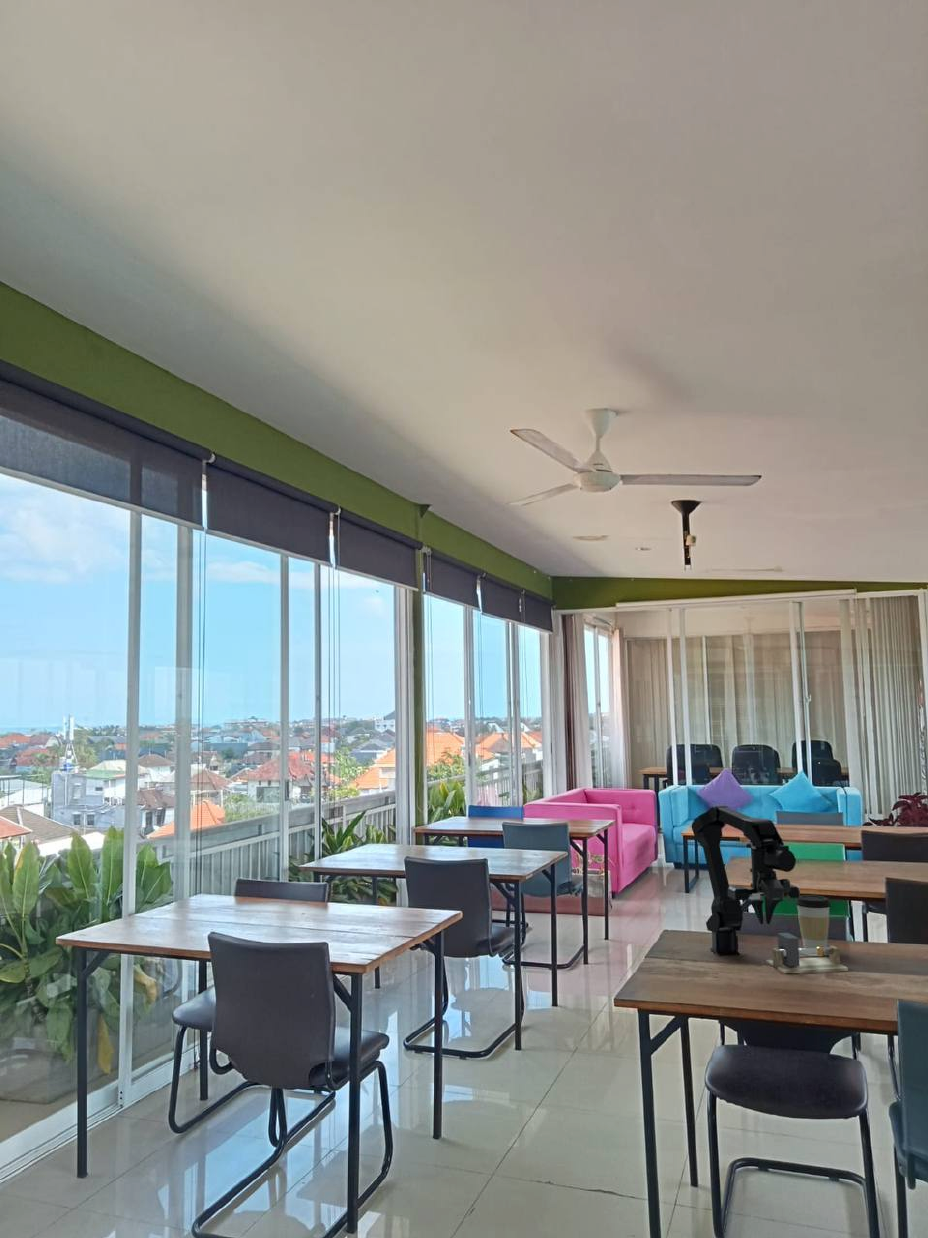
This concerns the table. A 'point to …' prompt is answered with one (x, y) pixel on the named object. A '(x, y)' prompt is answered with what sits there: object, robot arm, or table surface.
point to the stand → (809, 963)
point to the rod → (811, 951)
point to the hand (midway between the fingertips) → (764, 924)
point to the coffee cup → (813, 920)
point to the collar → (789, 948)
